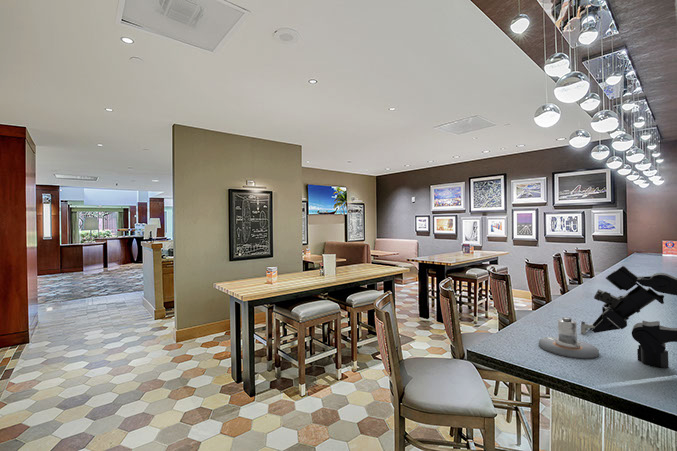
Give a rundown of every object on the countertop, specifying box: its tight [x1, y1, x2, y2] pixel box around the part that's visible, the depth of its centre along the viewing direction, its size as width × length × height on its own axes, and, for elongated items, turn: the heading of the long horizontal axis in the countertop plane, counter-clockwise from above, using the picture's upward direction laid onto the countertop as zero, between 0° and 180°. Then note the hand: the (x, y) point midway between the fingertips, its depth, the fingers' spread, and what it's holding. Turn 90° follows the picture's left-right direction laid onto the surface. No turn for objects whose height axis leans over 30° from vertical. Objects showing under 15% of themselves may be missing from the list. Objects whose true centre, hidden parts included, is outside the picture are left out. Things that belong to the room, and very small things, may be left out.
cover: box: [555, 316, 581, 349], centre depth 116 cm, size 8×8×10 cm
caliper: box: [580, 321, 594, 335], centre depth 138 cm, size 20×1×6 cm, turn 130°
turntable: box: [538, 336, 600, 359], centre depth 116 cm, size 18×18×1 cm
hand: (593, 328), depth 112 cm, fingers open, 9 cm apart
